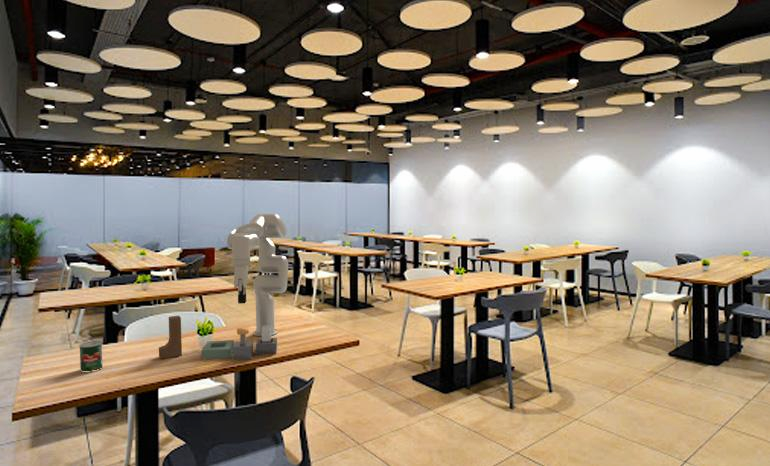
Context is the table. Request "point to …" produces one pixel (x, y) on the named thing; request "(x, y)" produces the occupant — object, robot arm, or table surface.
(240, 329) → the release button
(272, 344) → the socket block
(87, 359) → the canned tomato
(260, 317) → the robot arm
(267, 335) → the steel peg
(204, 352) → the green recessed block
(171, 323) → the wooden block
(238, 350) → the release housing
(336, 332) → the table surface
